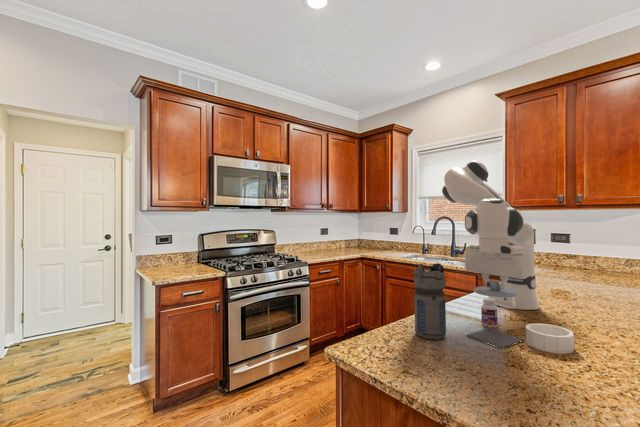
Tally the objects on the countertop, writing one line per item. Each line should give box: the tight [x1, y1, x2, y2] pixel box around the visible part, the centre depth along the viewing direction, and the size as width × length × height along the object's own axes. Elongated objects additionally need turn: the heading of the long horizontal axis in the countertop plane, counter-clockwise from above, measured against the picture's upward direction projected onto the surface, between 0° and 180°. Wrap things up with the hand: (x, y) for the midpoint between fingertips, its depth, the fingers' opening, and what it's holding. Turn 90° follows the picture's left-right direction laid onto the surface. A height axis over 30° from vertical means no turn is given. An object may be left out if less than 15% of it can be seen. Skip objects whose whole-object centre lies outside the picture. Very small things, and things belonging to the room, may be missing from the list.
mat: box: [466, 328, 525, 349], centre depth 105 cm, size 12×12×1 cm
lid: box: [473, 279, 517, 297], centre depth 104 cm, size 13×13×4 cm
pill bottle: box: [480, 297, 499, 328], centre depth 118 cm, size 5×5×10 cm
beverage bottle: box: [413, 262, 447, 341], centre depth 109 cm, size 10×13×25 cm
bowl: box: [525, 322, 575, 355], centre depth 98 cm, size 12×12×5 cm
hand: (495, 288), depth 104 cm, fingers closed on lid, 3 cm apart
